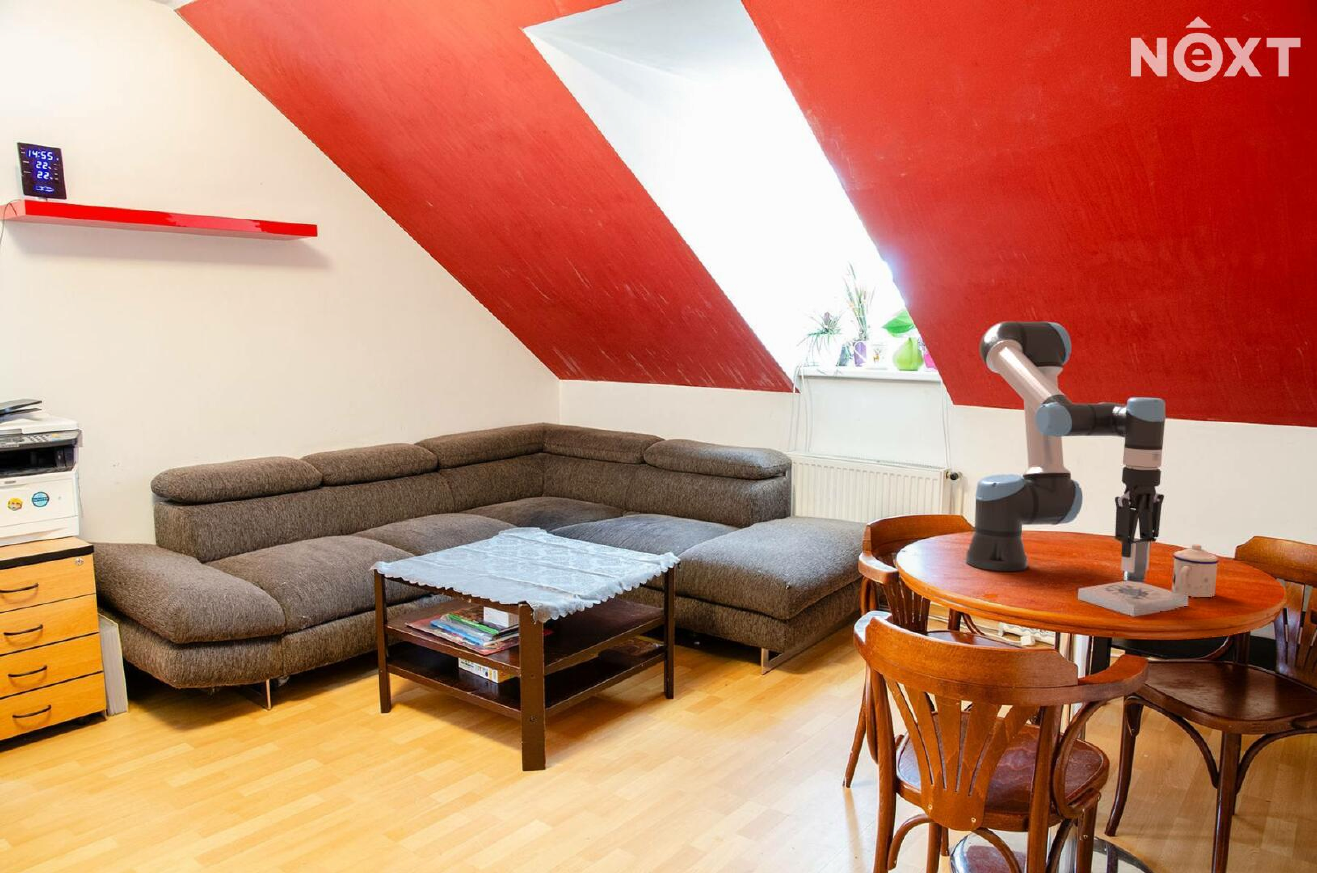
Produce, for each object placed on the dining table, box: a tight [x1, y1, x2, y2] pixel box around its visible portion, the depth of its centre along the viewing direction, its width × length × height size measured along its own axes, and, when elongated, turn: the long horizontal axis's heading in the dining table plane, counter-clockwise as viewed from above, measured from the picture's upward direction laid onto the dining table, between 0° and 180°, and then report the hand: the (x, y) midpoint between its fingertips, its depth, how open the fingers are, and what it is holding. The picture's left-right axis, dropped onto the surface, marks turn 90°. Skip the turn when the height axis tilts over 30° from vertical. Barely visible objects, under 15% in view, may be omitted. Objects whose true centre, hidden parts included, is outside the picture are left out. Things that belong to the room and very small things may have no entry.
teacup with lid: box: [1171, 543, 1219, 598], centre depth 209 cm, size 12×9×12 cm
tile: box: [1077, 580, 1189, 617], centre depth 203 cm, size 14×18×2 cm
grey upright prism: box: [1122, 537, 1148, 583], centre depth 202 cm, size 4×4×9 cm
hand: (1134, 569), depth 202 cm, fingers closed on grey upright prism, 4 cm apart
